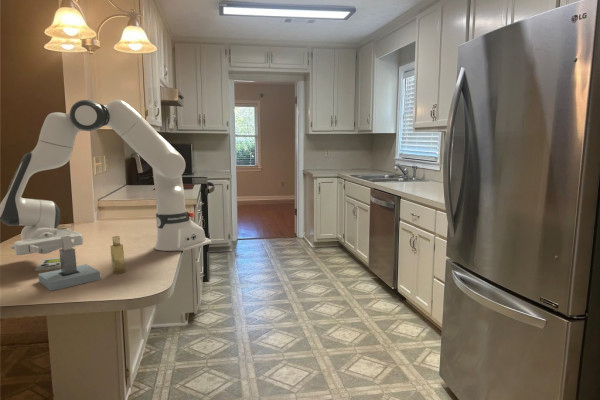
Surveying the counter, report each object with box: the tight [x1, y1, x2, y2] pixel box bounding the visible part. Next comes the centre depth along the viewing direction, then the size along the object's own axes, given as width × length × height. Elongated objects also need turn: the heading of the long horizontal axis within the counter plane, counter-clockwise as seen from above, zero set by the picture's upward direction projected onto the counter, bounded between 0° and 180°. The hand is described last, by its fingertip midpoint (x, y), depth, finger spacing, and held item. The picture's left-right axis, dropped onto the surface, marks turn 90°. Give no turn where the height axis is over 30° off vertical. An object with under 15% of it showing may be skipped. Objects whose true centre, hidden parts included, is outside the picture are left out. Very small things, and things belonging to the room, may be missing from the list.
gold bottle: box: [109, 235, 126, 275], centre depth 139 cm, size 4×4×12 cm
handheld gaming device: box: [33, 257, 61, 272], centre depth 151 cm, size 9×1×15 cm
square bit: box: [58, 236, 77, 276], centre depth 131 cm, size 3×3×14 cm
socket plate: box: [38, 263, 101, 292], centre depth 132 cm, size 14×12×2 cm
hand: (56, 247), depth 138 cm, fingers open, 8 cm apart
